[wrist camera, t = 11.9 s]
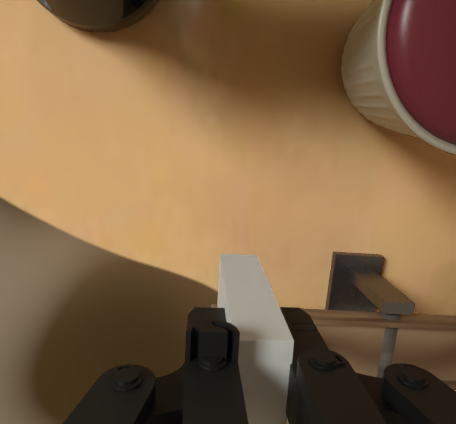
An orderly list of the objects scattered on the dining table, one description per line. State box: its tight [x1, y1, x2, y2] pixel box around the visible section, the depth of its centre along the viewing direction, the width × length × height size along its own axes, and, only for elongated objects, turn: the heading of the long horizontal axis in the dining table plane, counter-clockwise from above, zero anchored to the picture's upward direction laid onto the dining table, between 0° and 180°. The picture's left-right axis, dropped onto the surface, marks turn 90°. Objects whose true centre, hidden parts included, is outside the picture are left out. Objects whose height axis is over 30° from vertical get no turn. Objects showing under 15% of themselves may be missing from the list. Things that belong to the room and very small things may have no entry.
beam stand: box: [325, 252, 415, 315], centre depth 46 cm, size 14×6×12 cm, turn 175°
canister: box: [341, 0, 456, 155], centre depth 36 cm, size 18×18×21 cm
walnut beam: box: [211, 304, 456, 390], centre depth 40 cm, size 8×36×6 cm, turn 85°
